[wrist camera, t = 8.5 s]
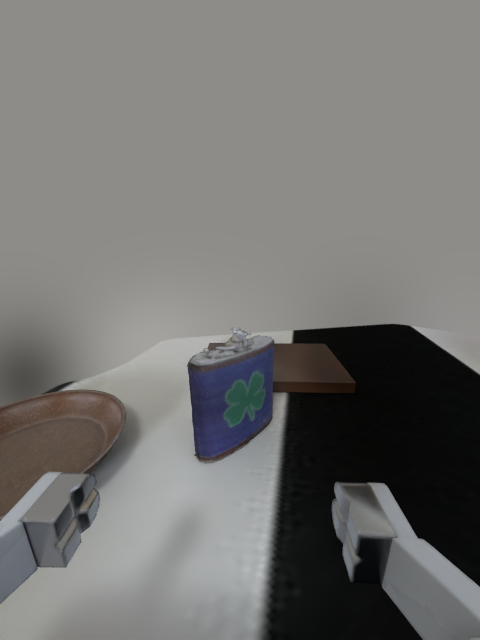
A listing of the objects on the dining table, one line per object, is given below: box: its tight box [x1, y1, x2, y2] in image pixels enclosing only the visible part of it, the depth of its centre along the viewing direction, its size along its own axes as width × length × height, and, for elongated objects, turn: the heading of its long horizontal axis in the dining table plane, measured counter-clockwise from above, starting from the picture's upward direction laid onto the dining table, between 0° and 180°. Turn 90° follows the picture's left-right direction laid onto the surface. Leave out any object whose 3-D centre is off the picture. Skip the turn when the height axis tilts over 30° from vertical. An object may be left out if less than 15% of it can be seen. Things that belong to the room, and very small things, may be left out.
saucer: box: [0, 390, 126, 521], centre depth 20 cm, size 15×15×3 cm
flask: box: [187, 328, 274, 463], centre depth 22 cm, size 9×3×11 cm, turn 132°
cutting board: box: [208, 343, 356, 393], centre depth 37 cm, size 20×13×2 cm, turn 88°
